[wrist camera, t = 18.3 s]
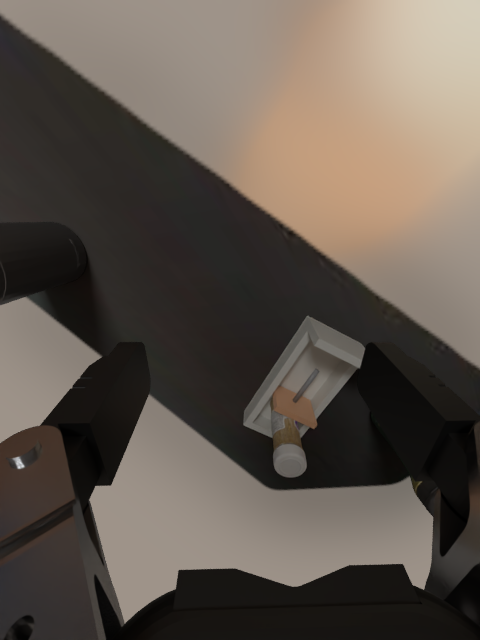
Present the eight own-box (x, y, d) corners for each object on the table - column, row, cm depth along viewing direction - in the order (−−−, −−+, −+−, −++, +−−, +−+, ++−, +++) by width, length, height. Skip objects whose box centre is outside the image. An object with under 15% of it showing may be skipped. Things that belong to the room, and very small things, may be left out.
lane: (290, 432, 51) (297, 472, 43) (244, 411, 50) (241, 448, 42) (360, 343, 43) (384, 371, 35) (307, 315, 42) (319, 338, 34)
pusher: (307, 403, 47) (313, 429, 42) (271, 387, 46) (273, 410, 41) (332, 371, 44) (343, 393, 39) (295, 352, 44) (301, 372, 38)
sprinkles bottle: (299, 403, 48) (314, 469, 35) (279, 416, 49) (287, 483, 37) (283, 387, 47) (293, 449, 34) (264, 401, 48) (266, 465, 35)
